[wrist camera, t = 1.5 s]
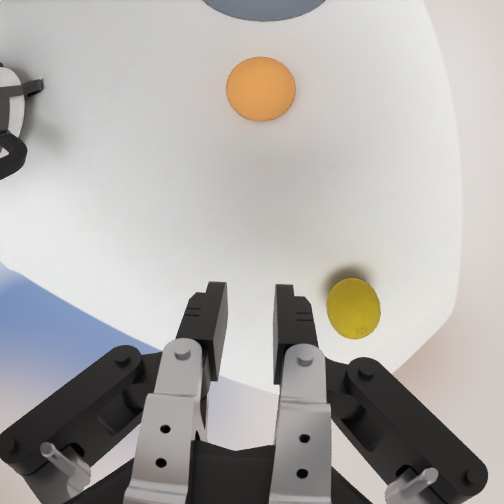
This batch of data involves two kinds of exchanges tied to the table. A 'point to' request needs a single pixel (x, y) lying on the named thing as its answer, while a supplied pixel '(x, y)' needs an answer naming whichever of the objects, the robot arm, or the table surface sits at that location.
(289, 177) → the table surface
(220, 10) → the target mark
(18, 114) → the coffee press
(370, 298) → the lemon
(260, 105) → the ball
